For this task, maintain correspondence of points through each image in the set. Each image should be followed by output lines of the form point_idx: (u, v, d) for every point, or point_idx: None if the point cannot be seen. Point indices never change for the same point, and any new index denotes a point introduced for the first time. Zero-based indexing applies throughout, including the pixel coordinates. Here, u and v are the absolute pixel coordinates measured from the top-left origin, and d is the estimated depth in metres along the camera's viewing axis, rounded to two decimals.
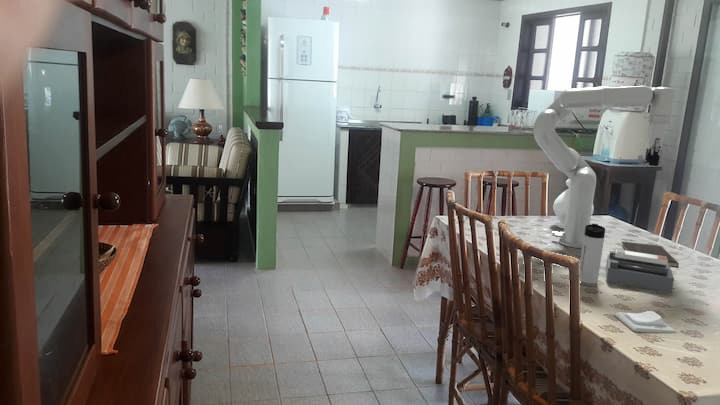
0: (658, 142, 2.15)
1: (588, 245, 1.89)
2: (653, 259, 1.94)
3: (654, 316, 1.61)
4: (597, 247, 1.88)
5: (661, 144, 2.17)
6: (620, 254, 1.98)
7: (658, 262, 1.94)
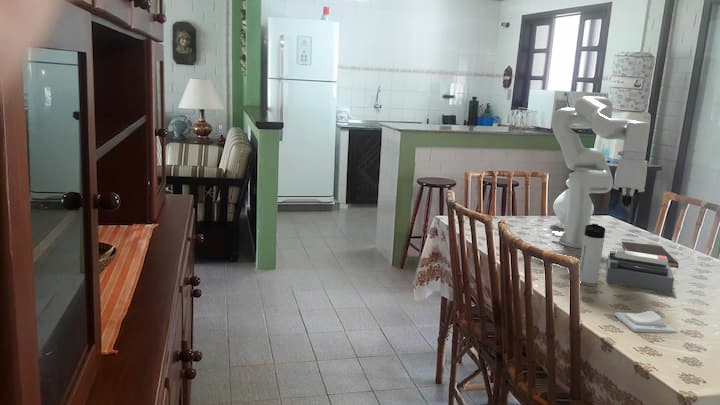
0: None
1: (588, 245, 1.89)
2: (653, 259, 1.94)
3: (654, 317, 1.61)
4: (597, 247, 1.88)
5: None
6: (620, 254, 1.98)
7: (658, 262, 1.94)
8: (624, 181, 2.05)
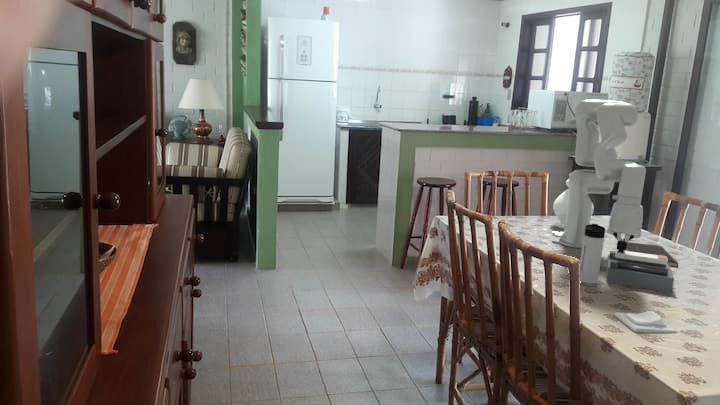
0: None
1: (588, 245, 1.89)
2: (653, 259, 1.94)
3: (654, 317, 1.61)
4: (597, 247, 1.88)
5: None
6: (620, 254, 1.98)
7: (658, 262, 1.94)
8: (619, 227, 1.96)
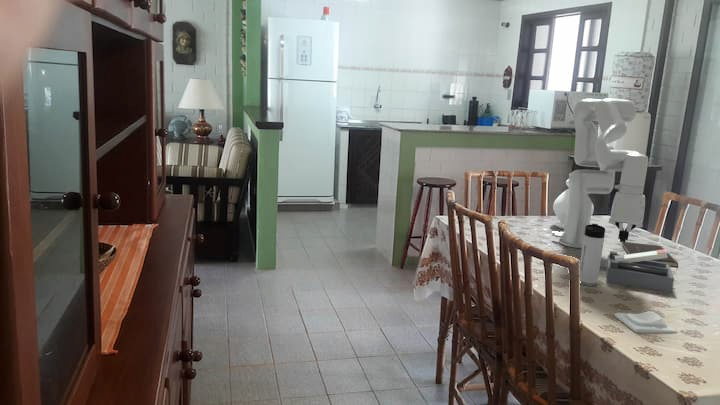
0: None
1: (587, 245, 1.89)
2: (652, 256, 1.94)
3: (654, 317, 1.61)
4: (597, 247, 1.88)
5: None
6: (620, 260, 1.98)
7: (658, 257, 1.93)
8: (621, 216, 1.95)
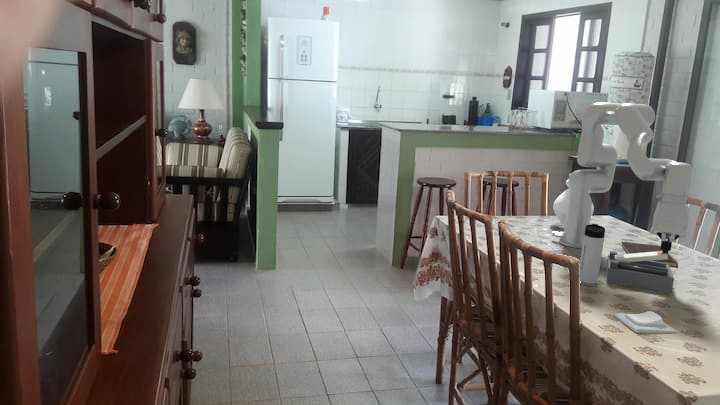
0: None
1: (587, 245, 1.89)
2: (653, 256, 1.94)
3: (655, 317, 1.61)
4: (597, 247, 1.88)
5: None
6: (620, 259, 1.98)
7: (658, 258, 1.93)
8: (664, 226, 1.91)
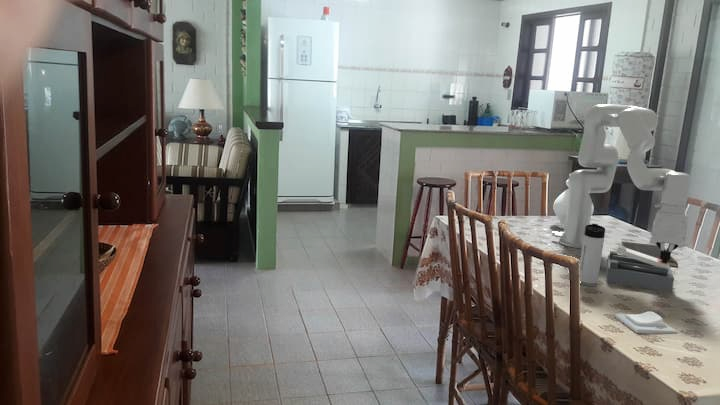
0: None
1: (587, 245, 1.89)
2: (653, 261, 1.94)
3: (655, 317, 1.61)
4: (597, 247, 1.88)
5: None
6: (621, 251, 1.98)
7: (657, 265, 1.94)
8: (663, 236, 1.91)
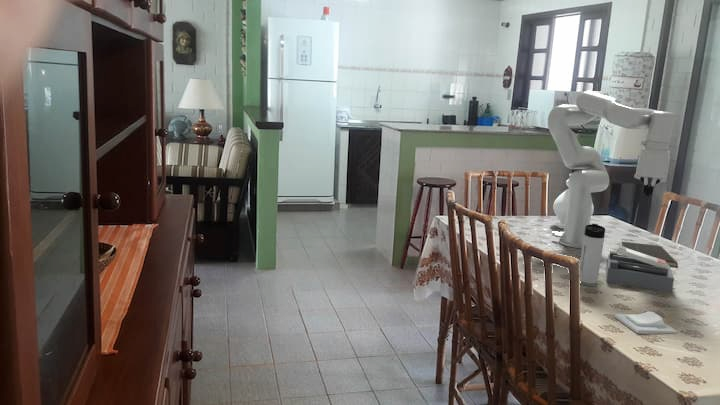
0: None
1: (587, 245, 1.89)
2: (653, 261, 1.94)
3: (655, 317, 1.61)
4: (597, 247, 1.88)
5: None
6: (621, 250, 1.98)
7: (657, 265, 1.94)
8: (646, 171, 2.06)
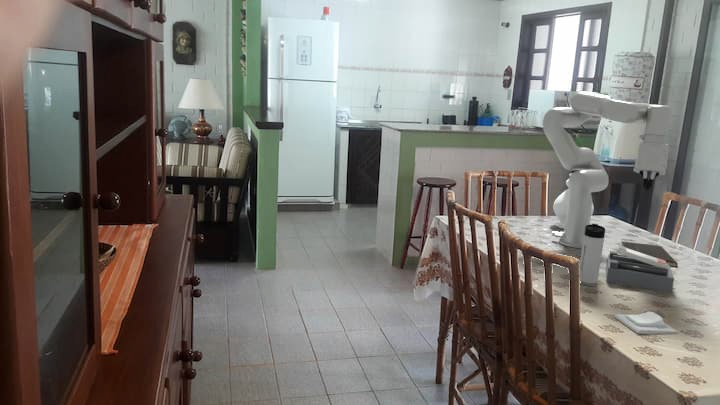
0: None
1: (588, 245, 1.89)
2: (653, 261, 1.94)
3: (655, 317, 1.61)
4: (597, 247, 1.88)
5: None
6: (621, 250, 1.98)
7: (657, 265, 1.94)
8: (645, 164, 2.08)
